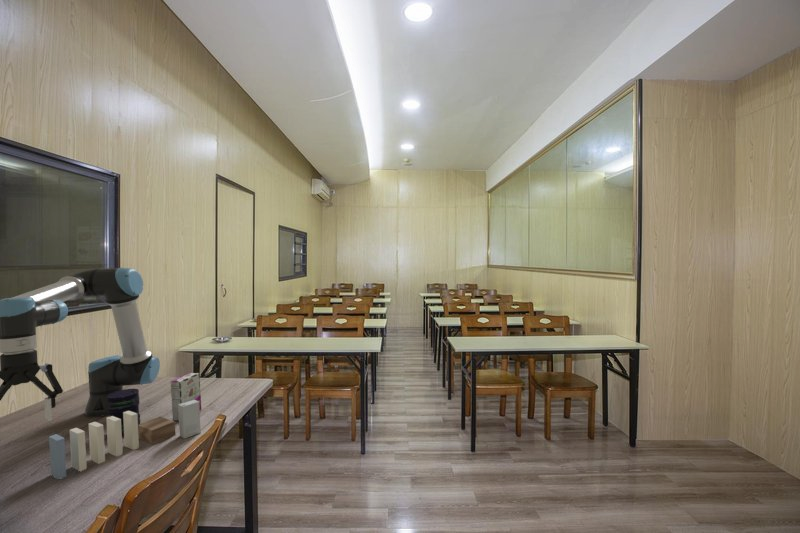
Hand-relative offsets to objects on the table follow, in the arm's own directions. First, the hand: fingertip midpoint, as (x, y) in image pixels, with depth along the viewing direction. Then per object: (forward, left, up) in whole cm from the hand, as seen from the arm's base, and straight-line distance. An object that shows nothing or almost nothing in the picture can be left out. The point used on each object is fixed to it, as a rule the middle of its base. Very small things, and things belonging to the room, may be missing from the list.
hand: (22, 427), depth 109 cm
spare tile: (0, +7, -18) cm, 19 cm away
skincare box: (+10, +42, -18) cm, 47 cm away
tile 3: (0, +22, -18) cm, 29 cm away
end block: (0, +36, -18) cm, 40 cm away
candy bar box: (-9, +52, -18) cm, 56 cm away
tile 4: (0, +27, -18) cm, 33 cm away
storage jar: (-16, +32, -18) cm, 40 cm away
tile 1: (0, +12, -18) cm, 22 cm away
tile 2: (0, +17, -18) cm, 25 cm away
